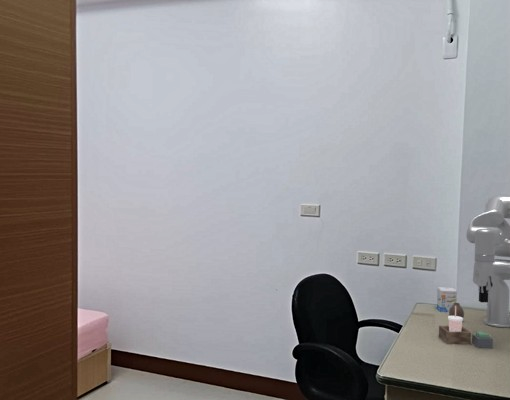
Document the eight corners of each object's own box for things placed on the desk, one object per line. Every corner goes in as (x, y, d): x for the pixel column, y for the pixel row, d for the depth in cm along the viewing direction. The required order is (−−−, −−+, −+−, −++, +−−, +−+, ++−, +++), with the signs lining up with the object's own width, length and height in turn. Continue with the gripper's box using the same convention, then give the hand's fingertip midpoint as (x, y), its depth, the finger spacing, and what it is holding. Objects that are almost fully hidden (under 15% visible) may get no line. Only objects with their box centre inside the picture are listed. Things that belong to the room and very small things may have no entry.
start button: (484, 343, 211) (485, 331, 210) (488, 346, 207) (489, 334, 207) (475, 343, 211) (476, 331, 210) (479, 346, 207) (479, 334, 207)
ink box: (439, 311, 265) (440, 290, 264) (436, 307, 273) (437, 286, 273) (456, 312, 263) (457, 290, 263) (453, 308, 272) (453, 287, 271)
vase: (465, 323, 244) (465, 305, 243) (450, 322, 245) (450, 304, 245) (462, 319, 250) (462, 302, 250) (447, 318, 252) (448, 301, 251)
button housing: (486, 343, 212) (486, 334, 212) (492, 348, 206) (492, 338, 206) (472, 343, 212) (472, 334, 212) (478, 348, 206) (478, 338, 206)
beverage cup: (461, 341, 212) (461, 308, 211) (446, 338, 215) (446, 306, 215) (463, 337, 217) (464, 305, 216) (449, 335, 220) (449, 303, 220)
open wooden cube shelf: (461, 337, 221) (461, 325, 221) (470, 344, 211) (470, 332, 211) (438, 336, 221) (438, 325, 221) (446, 343, 211) (447, 332, 211)
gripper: (468, 255, 215) (467, 297, 216) (483, 261, 200) (482, 306, 201) (485, 255, 215) (484, 297, 216) (502, 261, 200) (500, 306, 201)
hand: (483, 301), depth 208 cm, fingers closed
